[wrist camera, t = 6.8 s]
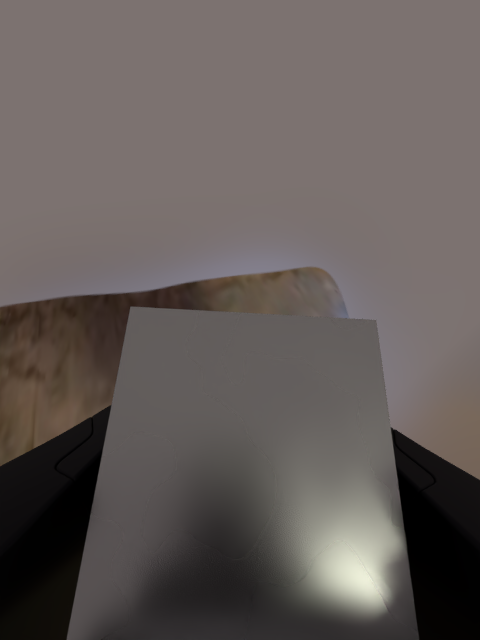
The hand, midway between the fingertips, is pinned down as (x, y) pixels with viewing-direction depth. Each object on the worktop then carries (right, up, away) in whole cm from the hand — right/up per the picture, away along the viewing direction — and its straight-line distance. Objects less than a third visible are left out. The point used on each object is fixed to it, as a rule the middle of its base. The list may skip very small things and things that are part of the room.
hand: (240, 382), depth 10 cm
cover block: (0, -3, +6) cm, 7 cm away
